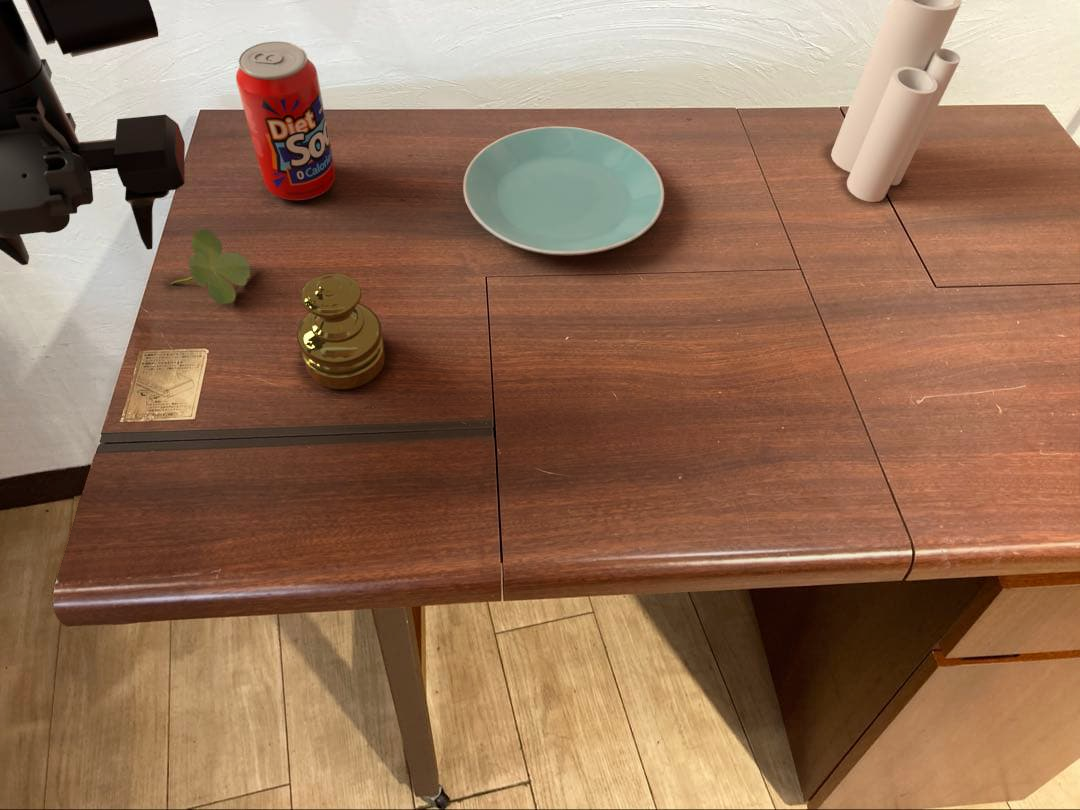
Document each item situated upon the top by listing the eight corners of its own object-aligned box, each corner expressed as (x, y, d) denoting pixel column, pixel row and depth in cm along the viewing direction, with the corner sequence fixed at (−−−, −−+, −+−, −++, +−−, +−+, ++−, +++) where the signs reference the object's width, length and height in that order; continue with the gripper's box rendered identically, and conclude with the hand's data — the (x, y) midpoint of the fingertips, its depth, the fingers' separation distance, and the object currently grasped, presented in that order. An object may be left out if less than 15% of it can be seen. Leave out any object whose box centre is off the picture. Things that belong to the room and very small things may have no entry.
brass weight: (341, 320, 79) (324, 242, 71) (402, 353, 77) (391, 276, 69) (288, 368, 75) (264, 291, 67) (350, 404, 73) (333, 329, 65)
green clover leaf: (216, 316, 85) (261, 299, 82) (153, 322, 78) (200, 303, 75) (196, 250, 84) (240, 230, 82) (130, 250, 77) (177, 228, 74)
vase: (822, 144, 100) (885, -21, 84) (877, 141, 101) (949, -22, 85) (856, 202, 94) (930, 36, 78) (914, 200, 95) (1000, 34, 79)
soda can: (277, 159, 93) (246, 33, 81) (344, 166, 93) (323, 41, 81) (256, 202, 88) (219, 75, 77) (327, 210, 88) (301, 83, 76)
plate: (430, 238, 86) (428, 217, 84) (507, 127, 99) (507, 106, 97) (628, 297, 83) (631, 277, 80) (681, 173, 95) (686, 153, 93)
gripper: (-208, 163, 46) (-59, 346, 58) (143, 129, 49) (213, 308, 62) (-159, 58, 52) (-34, 243, 64) (148, 34, 55) (210, 214, 68)
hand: (89, 253), depth 64 cm, fingers open, 9 cm apart
